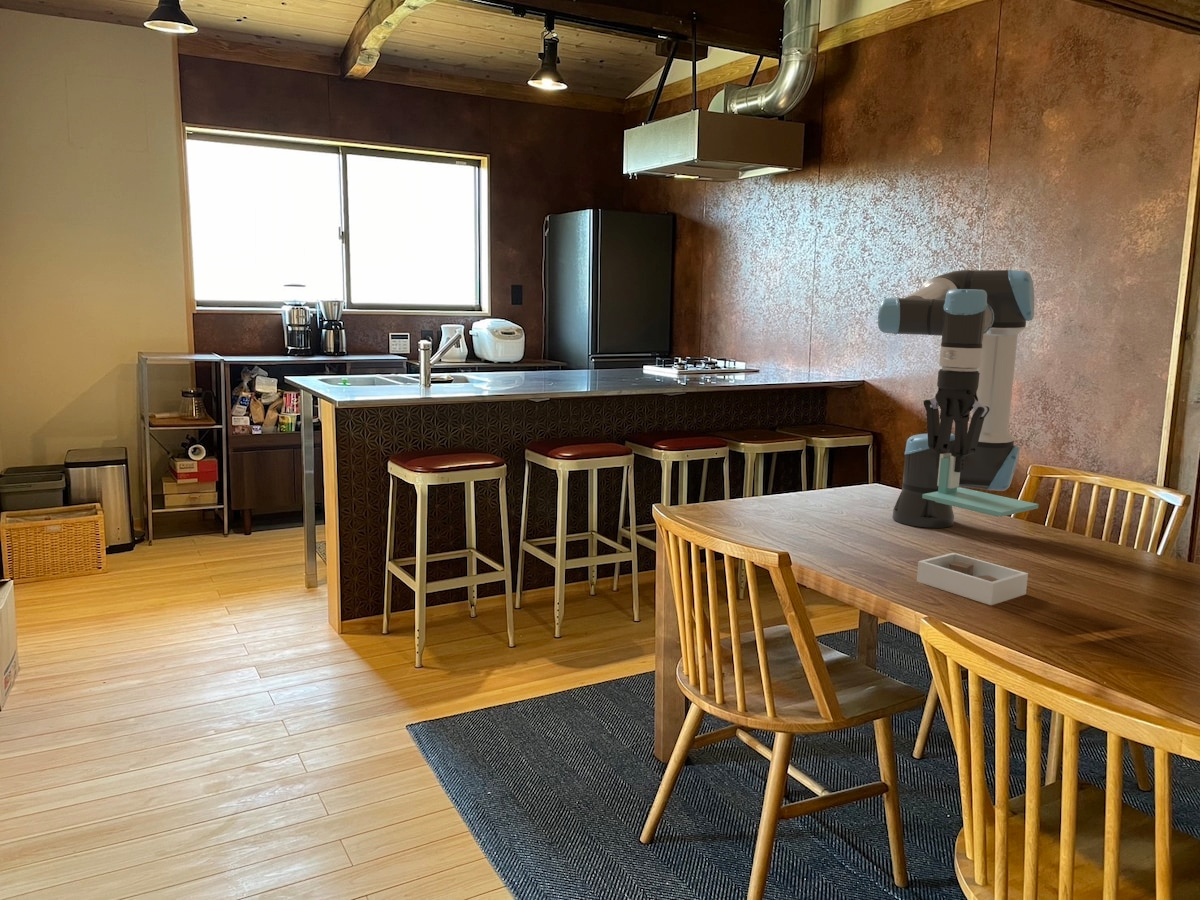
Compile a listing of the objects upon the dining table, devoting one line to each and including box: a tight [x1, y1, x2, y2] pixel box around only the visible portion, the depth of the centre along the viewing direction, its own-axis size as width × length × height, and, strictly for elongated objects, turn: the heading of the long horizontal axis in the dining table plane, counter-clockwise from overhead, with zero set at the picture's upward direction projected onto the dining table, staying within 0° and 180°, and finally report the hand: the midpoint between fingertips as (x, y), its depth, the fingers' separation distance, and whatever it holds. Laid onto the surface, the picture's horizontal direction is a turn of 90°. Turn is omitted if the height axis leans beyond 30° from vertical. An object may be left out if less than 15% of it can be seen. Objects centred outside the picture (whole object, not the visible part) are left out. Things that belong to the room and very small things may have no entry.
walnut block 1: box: [949, 561, 974, 576], centre depth 174 cm, size 4×4×4 cm
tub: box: [916, 552, 1029, 606], centre depth 170 cm, size 12×16×5 cm
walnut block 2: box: [974, 575, 999, 582], centre depth 165 cm, size 4×4×4 cm
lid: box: [922, 457, 1039, 518], centre depth 167 cm, size 13×17×8 cm
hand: (947, 486), depth 173 cm, fingers closed on lid, 2 cm apart
